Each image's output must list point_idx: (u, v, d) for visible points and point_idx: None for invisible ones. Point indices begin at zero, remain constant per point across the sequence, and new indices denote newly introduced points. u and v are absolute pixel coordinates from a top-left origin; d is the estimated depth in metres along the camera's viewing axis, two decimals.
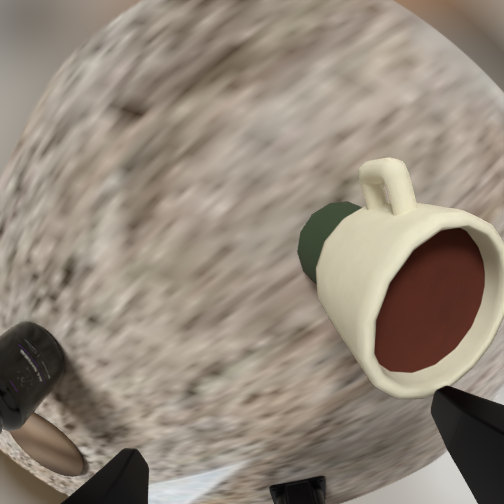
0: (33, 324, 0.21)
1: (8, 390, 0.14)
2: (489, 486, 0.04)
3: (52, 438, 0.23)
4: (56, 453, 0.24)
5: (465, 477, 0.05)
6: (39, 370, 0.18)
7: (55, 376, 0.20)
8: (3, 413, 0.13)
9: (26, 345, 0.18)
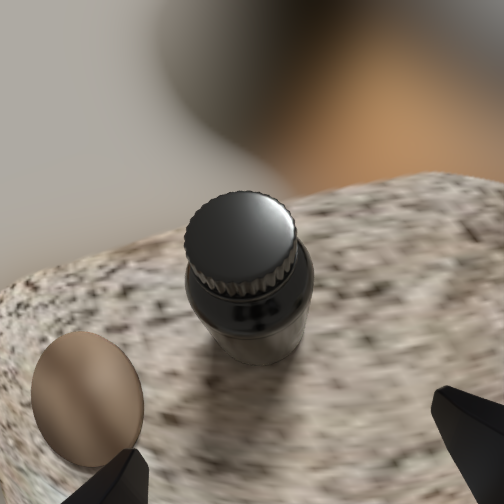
0: None
1: (312, 287, 0.15)
2: (489, 486, 0.04)
3: (122, 407, 0.19)
4: (90, 422, 0.18)
5: (465, 477, 0.05)
6: (304, 323, 0.18)
7: (286, 351, 0.19)
8: (282, 294, 0.13)
9: None
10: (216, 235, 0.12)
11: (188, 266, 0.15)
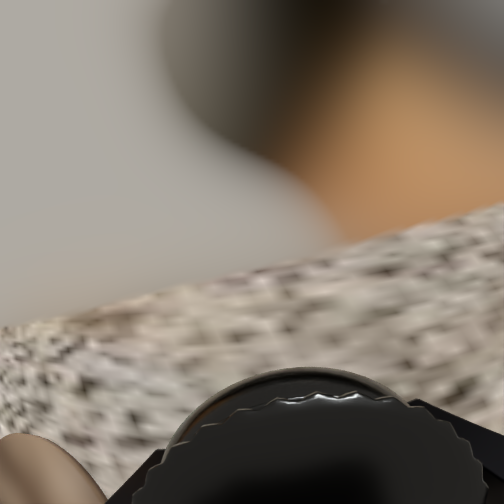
0: None
1: None
2: None
3: None
4: None
5: None
6: None
7: None
8: None
9: None
10: None
11: None
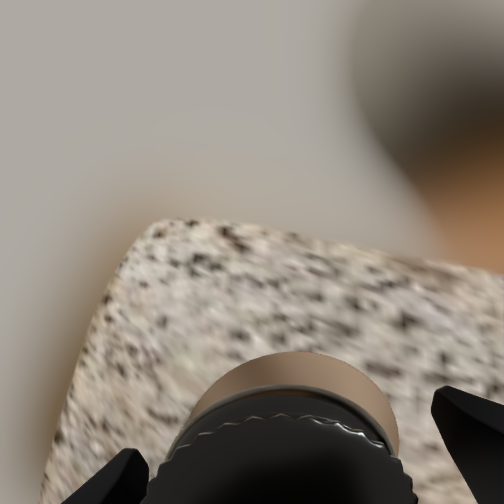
0: None
1: None
2: (489, 486, 0.04)
3: None
4: None
5: (465, 477, 0.05)
6: None
7: None
8: None
9: None
10: None
11: None
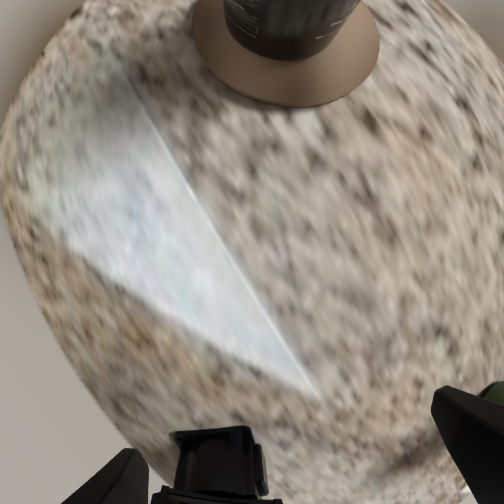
0: None
1: None
2: (489, 486, 0.04)
3: (342, 69, 0.15)
4: None
5: (465, 477, 0.05)
6: (341, 23, 0.11)
7: (303, 47, 0.12)
8: None
9: None
10: None
11: None
